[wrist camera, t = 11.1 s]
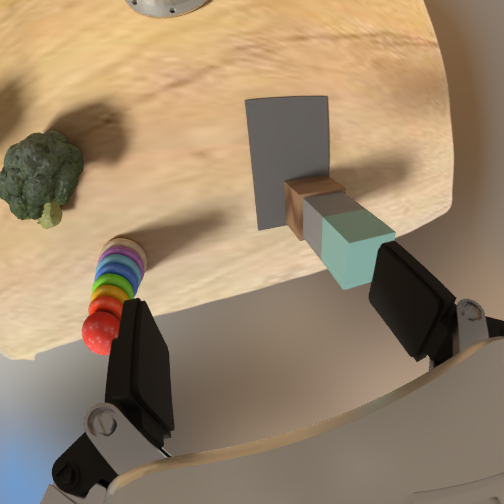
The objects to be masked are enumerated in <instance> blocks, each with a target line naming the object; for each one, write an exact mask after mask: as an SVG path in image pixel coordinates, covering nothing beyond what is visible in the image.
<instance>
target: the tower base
mask: <svg viewBox="0 0 504 504" xmlns="http://www.w3.org/2000/svg"><path fill="white" fill-rule="evenodd" d="M284 192H285V213H286V223H287V225H288V226H289V227H290V229H291V230H292V231H293V232H294V234H295V235H296V236H297V238H298V239H299V240H300V241H302V240H305V239H304V238H303V198H305V197H311V196H318V195H324V194H331V193H338V192H343V193H345V188H344V187H343V186H341V185H340V184H338V183H337V182H335V181H334V180H332V179H331V178H329V177H328V176H326V175H325V176H317V177H309V178H301V179H294V180H287V181H284Z"/></svg>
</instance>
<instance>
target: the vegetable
mask: <svg viewBox="0 0 504 504" xmlns="http://www.w3.org/2000/svg"><path fill="white" fill-rule="evenodd" d="M82 171H83V156H82V153H81V151H80V149H78V148H76V147H75V146H74V145H72V144H69V143H68V142H67V138H66V137H65V136H64V135H63V134H61V133H60V132H57V131H55V130H52V131H49V132H46V133H44V134H42V133H33V134H31V135H29V136H28V137H27V138H26V139H25V140H23V141H20V143H16V144H15V145H12V146H10V148H9V149H8V151H7V153H6V155H5V158H4V167H3V168H2V171H1V172H0V198H1V199H3V200H5V201H6V202H7V203H8V204H9V207H10V210H11V212H12V213H13V214H14V215H15V216H16V217H17V218H18V219H21V220H24V219H31V218H32V219H34V220H36V219H38V222H37V223H38V224H39V223H40V224H41V225H42V227H43V228H45V229H48V228H51V227H54V226H56V225H58V224H59V223H60V221H61V218H62V211H61V208H60V205H65V204H67V203H68V202H69V199H70V196H71V194H72V193H73V191H74V190H75V188H76V186H77V185H78V178H77V177H78V175H79V174H80V173H81V172H82Z"/></svg>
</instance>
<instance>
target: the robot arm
mask: <svg viewBox="0 0 504 504" xmlns="http://www.w3.org/2000/svg"><path fill="white" fill-rule="evenodd" d="M125 1H126V3H127V4H128V5H129V7H130V8H132V9H133V10H134V11H135V12H137V13H139V14H141V15H144V16H147V17H152V18H171V17H177V16H180V15H184V14H187V13H189V12H191V11H194V10H195V9H197V8H199V7H201V6H202V5H203V4H204V3H206V2H207V1H208V0H125ZM135 3H137V4H136V5H134V4H135ZM172 11H175V13H171V12H172ZM455 300H456V297H455V296H454V295H453V294H452V293H451V292H450V291H449V290H448V289H447V288H446V287H445V286H444V285H443V284H442V283H441V282H440V281H439V280H438V279H437V278H436V277H435V276H434V275H432V274H431V273H430V272H429V271H428V270H427V269H426V268H425V267H424V266H423V265H422V264H421V263H420V262H418V261H417V260H416V259H415V258H414V257H413V256H412V255H411V254H410V253H409V252H407V251H406V250H405V249H404V248H403V247H402V246H401V245H399V244H398V243H397V242H395V241H389V242H385V243H382V244H381V246H380V248H379V249H378V252H377V257H376V263H375V268H374V273H373V278H372V282H371V288H370V292H369V301H370V303H371V304H372V306H373V307H374V308H375V310H376V311H377V312H378V314H379V315H380V316H381V317H382V319H383V320H384V321H385V323H386V324H387V325H388V327H389V328H390V329H391V331H392V332H393V333H394V335H395V336H396V337H397V339H398V340H399V342H400V343H401V344H402V346H403V347H404V348H405V350H406V351H407V353H408V354H409V355H410V356H411V357H414V359H415V360H416V361H417V362H418V361H420V360H421V359H423V358H425V357H426V356H427V355H428V356H429V357H430V362H429V372H427V373H425V374H424V375H422V376H420V377H418V378H417V379H415V380H413V381H411V382H409V383H407V384H406V385H404V386H402V387H400V388H398V389H396V390H394V391H392V392H390V393H388V394H386V395H384V396H382V397H380V398H378V399H376V400H373V401H371V402H369V403H367V404H365V405H362V406H361V407H358V408H355V409H353V410H351V411H348V412H346V413H343V414H341V415H338V416H336V417H333V418H330V419H328V420H325V421H322V422H319V423H316V424H313V425H311V426H308V427H305V428H301V429H298V430H295V431H292V432H289V433H285V434H281V435H278V436H274V437H271V438H267V439H263V440H259V441H254V442H250V443H246V444H241V445H236V446H232V447H227V448H222V449H217V450H211V451H204V452H198V453H192V454H186V455H180V456H174V457H172V456H171V455H170V454H169V453H168V452H167V451H165V449H163V448H162V447H163V446H164V441H163V439H164V438H171V432H170V431H173V430H174V419H173V408H172V395H171V381H170V363H169V351H168V347H167V345H166V343H165V341H164V339H163V337H162V335H161V333H160V331H159V329H158V327H157V325H156V323H155V321H154V318H153V316H152V314H151V312H150V310H149V308H148V305H147V303H146V302H145V301H141V300H140V299H139V298H135V299H130V300H125V301H124V303H123V308H122V314H121V320H120V326H119V333H118V338H114V339H113V340H112V343H111V349H110V356H109V364H108V373H107V382H106V392H105V403H98V404H96V405H94V406H92V407H91V408H90V409H89V410H88V411H87V413H86V415H85V417H84V423H83V424H84V430H85V433H84V434H83V435H82V436H81V437H79V438H78V439H77V441H75V442H74V444H72V445H71V447H69V448H68V449H67V450H66V451H65V452H64V453H63V454H62V455H61V456H60V457H59V458H58V459H57V460H56V462H55V463H54V465H53V468H52V477H53V480H54V483H53V485H51V484H49V486H48V488H47V490H46V492H45V495H44V497H43V499H42V501H41V503H40V504H504V321H502V320H498V319H494V318H490V317H486V316H485V313H484V310H483V309H482V307H481V306H480V305H479V304H478V303H477V302H475V301H473V300H470V299H463V300H460V301H459V302H458V304H457V305H456V304H455V303H454V302H455Z"/></svg>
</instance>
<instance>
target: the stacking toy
mask: <svg viewBox="0 0 504 504" xmlns="http://www.w3.org/2000/svg"><path fill="white" fill-rule="evenodd" d="M146 268H147V258H146V255H145V252H144V251H143V249H142V248H141V247H140V246H139V245H138V244H137V243H135V242H134V241H132V240H129V239H125V238H117V239H113V240H111V241H109V242H107V243H106V244H105V245H104V246H103V248H102V250H101V252H100V258H99V261H98V266H97V268H96V275H95V281H94V284H93V288H92V296H91V303H90V305H89V316H88V317H87V319H86V320H85V322H84V324H83V327H82V336H83V340H84V342H85V344H86V345H87V347H88V348H89V349H90V350H92V351H93V352H95V353H97V354H101V355H108V354H110V349H111V343H112V340H113V339H114V338H118V333H119V326H120V320H121V314H122V308H123V303H124V301H125V300H130V299H133V298H134V296H135V295H136V293H137V290H138V287H139V285H140V283H141V281H142V279H143V277H144V273H145V271H146Z"/></svg>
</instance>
